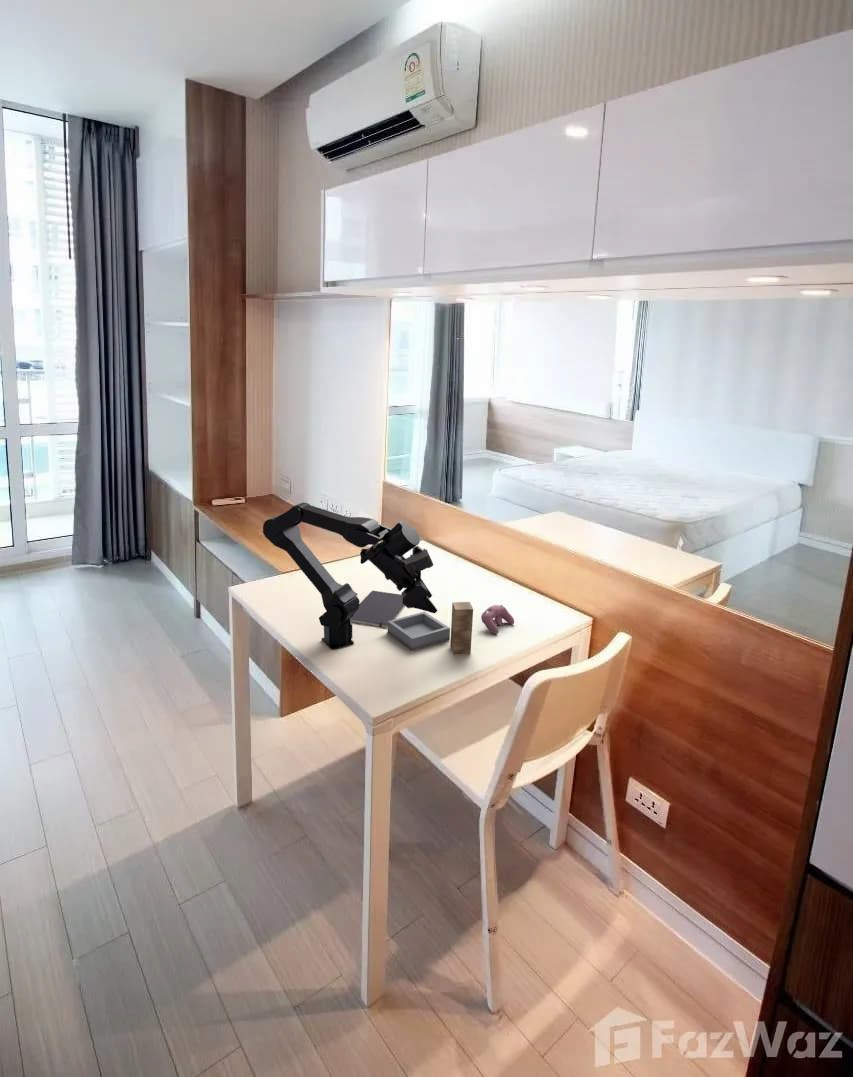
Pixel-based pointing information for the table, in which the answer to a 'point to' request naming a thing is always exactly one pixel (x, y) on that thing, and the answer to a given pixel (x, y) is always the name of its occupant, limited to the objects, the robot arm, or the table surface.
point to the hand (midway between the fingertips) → (433, 604)
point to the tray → (418, 631)
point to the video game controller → (496, 617)
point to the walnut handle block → (461, 628)
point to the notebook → (378, 609)
